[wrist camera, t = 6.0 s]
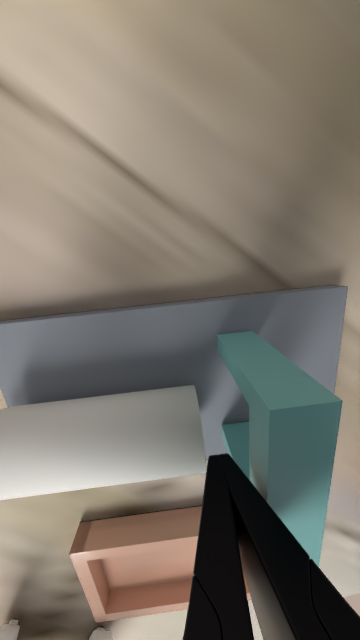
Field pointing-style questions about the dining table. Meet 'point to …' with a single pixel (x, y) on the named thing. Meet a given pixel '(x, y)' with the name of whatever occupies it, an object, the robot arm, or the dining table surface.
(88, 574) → the tray
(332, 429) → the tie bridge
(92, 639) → the cable organizer
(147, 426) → the white bottle
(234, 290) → the dining table surface
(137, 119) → the dining table surface
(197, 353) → the board
